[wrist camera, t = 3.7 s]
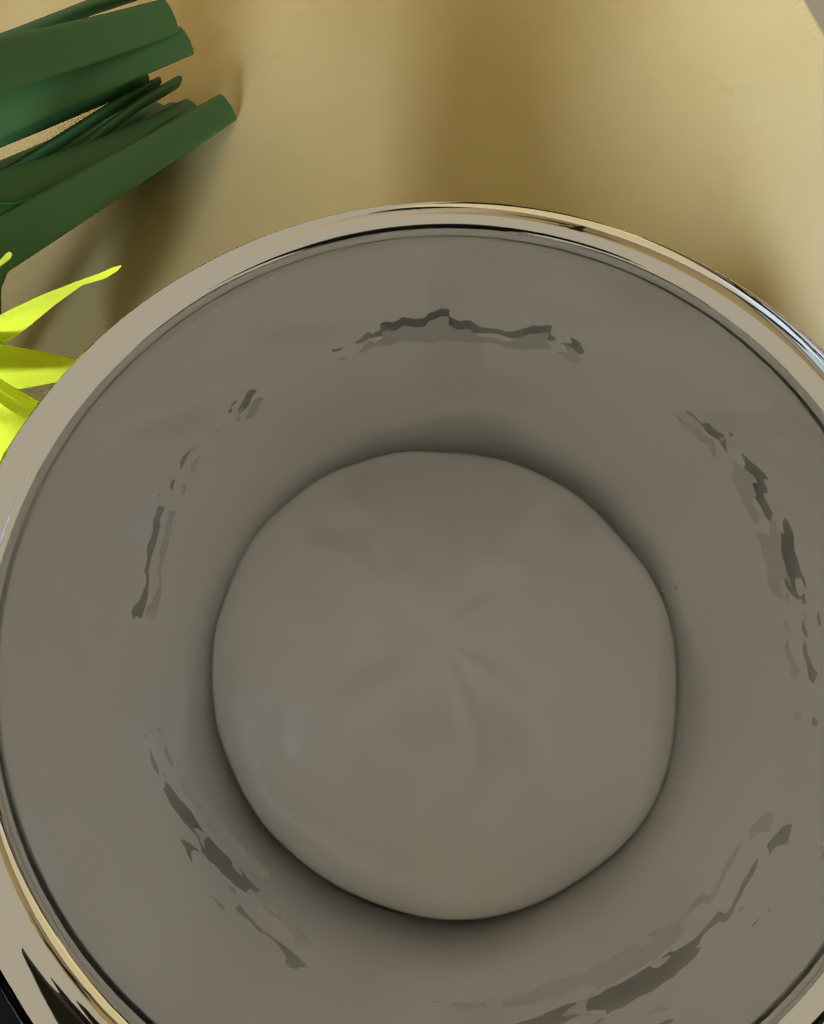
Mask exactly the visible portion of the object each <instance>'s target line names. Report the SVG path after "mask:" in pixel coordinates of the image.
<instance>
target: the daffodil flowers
mask: <svg viewBox="0 0 824 1024" xmlns="http://www.w3.org/2000/svg"><path fill="white" fill-rule="evenodd" d="M134 1H137V0H86V1H83V2H81V3H78V4H76V5H73V6H71V7H68V8H65V9H63V10H60V11H58V12H55V13H52V14H50V15H47V16H45V17H42V18H40V19H37V20H34V21H32V22H29V23H27V24H24V25H21V26H19V27H16V28H14V29H11V30H8V31H6V32H3V33H0V148H1V147H3V146H6V145H8V144H11V143H13V142H16V141H18V140H21V139H23V138H25V137H28V136H30V135H33V134H35V133H38V132H40V131H43V130H45V129H48V128H50V127H52V126H55V125H57V124H59V123H62V122H64V121H66V120H69V119H71V118H73V117H76V116H78V115H81V114H83V113H85V112H88V111H90V110H92V109H95V108H97V107H99V106H102V105H104V104H106V103H108V104H106V105H105V106H103V107H102V108H100V109H98V110H97V111H95V112H93V113H92V114H90V115H89V116H87V117H85V118H84V119H82V120H81V121H79V122H77V123H76V124H74V125H73V126H71V127H69V128H68V129H66V130H65V131H63V132H61V133H60V134H58V135H57V136H55V137H53V138H52V139H50V140H48V141H46V142H43V143H41V144H39V145H36V146H34V147H31V148H29V149H27V150H24V151H22V152H19V153H17V154H15V155H12V156H10V157H8V158H5V159H3V160H0V460H1V458H2V456H3V455H4V453H5V451H6V449H7V448H8V446H9V445H10V443H11V442H12V440H13V438H14V437H15V435H16V434H17V432H18V431H19V429H20V428H21V426H22V425H23V424H24V422H25V421H26V419H27V418H28V417H29V415H30V414H31V412H32V411H33V410H34V409H35V407H36V406H37V405H38V403H39V401H37V400H35V399H33V398H32V397H30V396H28V395H27V394H25V393H23V392H22V391H20V390H18V389H22V388H28V387H33V386H39V385H45V384H51V383H55V382H56V381H57V380H58V379H59V378H60V377H61V376H62V375H63V374H64V373H65V371H66V370H67V369H68V368H69V367H70V366H71V365H72V364H73V363H74V362H75V361H76V359H72V358H69V357H65V356H60V355H55V354H50V353H46V352H41V351H36V350H31V349H27V348H21V347H15V346H9V345H3V344H1V343H3V342H5V341H7V340H10V339H12V338H14V337H16V336H18V335H19V334H20V333H21V332H23V331H24V330H25V329H26V328H28V327H29V326H30V325H31V324H32V323H34V322H35V321H36V320H37V319H38V318H40V317H41V316H42V315H43V314H45V313H46V312H47V311H48V310H49V309H51V308H52V307H53V306H54V305H56V304H57V303H58V302H59V301H61V300H62V299H64V298H65V297H66V296H68V295H69V294H71V293H72V292H73V291H75V290H76V289H78V288H79V287H80V286H82V285H85V284H88V283H91V282H95V281H98V280H102V279H105V278H107V277H108V276H110V275H112V274H113V273H115V272H116V271H118V269H119V268H120V267H121V265H119V266H116V267H113V268H110V269H108V270H106V271H103V272H101V273H99V274H96V275H93V276H90V277H88V278H85V279H82V280H79V281H77V282H74V283H71V284H69V285H66V286H64V287H61V288H58V289H56V290H53V291H51V292H48V293H46V294H43V295H40V296H38V297H36V298H34V299H32V300H30V301H28V302H26V303H24V304H21V305H19V306H17V307H15V308H13V309H11V310H9V311H7V312H5V313H2V314H1V288H2V285H3V283H4V280H5V278H6V275H7V274H8V272H9V271H10V270H11V269H13V268H14V267H16V266H17V265H19V264H20V263H22V262H23V261H25V260H27V259H28V258H30V257H31V256H33V255H34V254H36V253H37V252H39V251H40V250H42V249H43V248H45V247H46V246H48V245H49V244H51V243H52V242H54V241H55V240H57V239H58V238H60V237H61V236H63V235H64V234H66V233H67V232H69V231H70V230H72V229H73V228H75V227H76V226H78V225H79V224H81V223H82V222H84V221H85V220H87V219H88V218H90V217H91V216H93V215H94V214H96V213H97V212H99V211H100V210H102V209H103V208H105V207H106V206H108V205H109V204H111V203H112V202H114V201H115V200H117V199H118V198H120V197H121V196H123V195H124V194H126V193H127V192H129V191H130V190H132V189H133V188H135V187H136V186H138V185H139V184H141V183H142V182H144V181H145V180H147V179H148V178H150V177H151V176H153V175H154V174H156V173H157V172H159V171H160V170H162V169H164V168H165V167H167V166H168V165H170V164H171V163H173V162H174V161H176V160H177V159H179V158H180V157H182V156H183V155H185V154H186V153H188V152H189V151H191V150H192V149H194V148H195V147H197V146H198V145H200V144H201V143H203V142H204V141H206V140H207V139H209V138H210V137H212V136H213V135H215V134H216V133H218V132H219V131H221V130H222V129H224V128H225V127H226V126H228V125H229V124H231V123H232V122H234V121H235V120H236V115H235V113H234V111H233V109H232V107H231V105H230V104H229V102H228V101H227V100H226V98H225V97H224V96H223V95H221V94H220V95H218V96H216V97H214V98H212V99H211V100H209V101H207V102H205V103H203V104H202V105H200V106H198V107H197V106H196V105H195V104H194V103H193V102H192V101H191V100H189V99H185V100H183V101H180V102H178V103H169V104H167V105H165V106H162V105H161V104H160V103H158V102H156V101H157V100H159V99H161V98H162V97H164V96H166V95H167V94H169V93H171V92H173V91H174V90H176V89H177V88H178V87H179V86H180V84H181V82H182V77H181V76H177V77H175V78H173V79H171V80H170V81H168V82H166V83H164V84H163V85H161V86H160V84H161V78H160V77H157V78H155V79H153V80H151V81H149V76H148V74H149V73H151V72H153V71H156V70H158V69H160V68H163V67H165V66H167V65H170V64H172V63H174V62H176V61H179V60H181V59H183V58H186V57H188V56H190V55H193V53H194V52H193V48H192V45H191V42H190V40H189V38H188V36H187V34H186V33H185V31H184V30H183V29H182V28H181V27H178V25H177V22H176V19H175V17H174V14H173V12H172V10H171V8H170V6H169V5H168V3H167V2H166V0H157V1H153V2H149V3H145V4H141V5H137V6H133V7H129V8H125V9H121V10H117V11H113V12H109V13H105V14H101V15H96V16H92V15H95V14H98V13H101V12H104V11H107V10H110V9H113V8H116V7H119V6H122V5H125V4H128V3H131V2H134ZM89 16H92V17H89ZM87 17H88V18H87ZM109 102H110V103H109Z"/></svg>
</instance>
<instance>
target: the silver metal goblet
mask: <svg viewBox="0 0 824 1024" xmlns="http://www.w3.org/2000/svg"><path fill="white" fill-rule="evenodd" d="M0 994H1V996H2V998H3V999H4V1001H5V1002H6V1004H7V1006H8V1007H9V1009H10V1010H11V1012H12V1014H13V1015H14V1017H15V1018H16V1020H17V1021H18V1023H19V1024H824V351H823V350H822V349H821V348H820V347H819V346H818V345H817V344H816V343H815V342H814V341H813V340H812V339H811V338H810V337H808V336H807V335H806V334H805V333H804V332H803V331H801V330H800V329H799V328H798V327H797V326H795V325H794V324H793V323H792V322H791V321H789V320H788V319H787V318H786V317H784V316H783V315H782V314H781V313H779V312H778V311H777V310H775V309H774V308H773V307H771V306H770V305H768V304H767V303H766V302H764V301H763V300H762V299H760V298H759V297H757V296H756V295H754V294H753V293H751V292H750V291H748V290H747V289H745V288H744V287H742V286H741V285H739V284H737V283H736V282H734V281H733V280H731V279H729V278H728V277H726V276H724V275H723V274H721V273H719V272H717V271H716V270H714V269H712V268H710V267H709V266H707V265H705V264H703V263H701V262H699V261H697V260H695V259H693V258H691V257H689V256H687V255H685V254H683V253H681V252H679V251H677V250H675V249H672V248H670V247H668V246H665V245H663V244H661V243H658V242H656V241H653V240H651V239H648V238H646V237H643V236H641V235H638V234H635V233H633V232H630V231H627V230H624V229H621V228H618V227H615V226H612V225H609V224H605V223H602V222H598V221H595V220H591V219H587V218H583V217H579V216H575V215H571V214H566V213H561V212H557V211H552V210H546V209H540V208H535V207H528V206H520V205H511V204H502V203H489V202H469V201H437V202H416V203H405V204H395V205H386V206H379V207H372V208H365V209H360V210H354V211H349V212H344V213H340V214H335V215H331V216H327V217H323V218H319V219H315V220H312V221H308V222H305V223H301V224H298V225H295V226H292V227H289V228H286V229H282V230H279V231H277V232H274V233H271V234H268V235H266V236H263V237H260V238H258V239H256V240H253V241H251V242H248V243H246V244H244V245H241V246H239V247H237V248H234V249H232V250H230V251H228V252H226V253H224V254H222V255H220V256H218V257H216V258H214V259H212V260H210V261H208V262H206V263H204V264H202V265H201V266H199V267H197V268H195V269H193V270H192V271H190V272H188V273H186V274H185V275H183V276H181V277H180V278H178V279H176V280H175V281H173V282H172V283H170V284H168V285H167V286H165V287H164V288H162V289H161V290H159V291H158V292H156V293H155V294H153V295H152V296H151V297H149V298H148V299H146V300H145V301H144V302H142V303H141V304H140V305H138V306H137V307H136V308H134V309H133V310H132V311H130V312H129V313H128V314H127V315H125V316H124V317H123V318H122V319H120V320H119V321H118V322H117V323H116V324H114V325H113V326H112V327H111V328H110V329H108V330H107V331H106V332H105V333H104V334H103V335H102V336H101V337H99V338H98V339H97V340H96V341H95V342H94V343H93V344H92V345H91V346H90V347H89V348H88V349H87V350H86V351H85V352H84V353H82V354H81V356H80V357H79V358H78V359H77V360H76V361H75V362H74V363H73V364H72V365H71V366H70V367H69V368H68V369H67V370H66V371H65V373H64V374H63V375H62V376H61V377H60V378H59V379H58V380H57V381H56V382H55V384H54V385H53V386H52V387H51V389H50V390H49V391H48V392H47V393H46V395H45V396H44V397H43V398H42V400H41V401H40V402H39V403H38V405H37V406H36V407H35V409H34V410H33V411H32V412H31V414H30V415H29V417H28V418H27V419H26V421H25V422H24V424H23V425H22V426H21V428H20V429H19V431H18V432H17V434H16V435H15V437H14V438H13V440H12V442H11V443H10V445H9V446H8V448H7V449H6V451H5V453H4V455H3V456H2V458H1V460H0Z"/></svg>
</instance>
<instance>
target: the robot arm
mask: <svg viewBox="0 0 824 1024" xmlns="http://www.w3.org/2000/svg"><path fill="white" fill-rule="evenodd" d="M0 1024H19V1023H18V1021H17V1020H16V1018H15V1017H14V1015H13V1014H12V1012H11V1010H10V1009H9V1007H8V1006H7V1004H6V1002H5V1001H4V999H3V998H2V996H1V994H0Z"/></svg>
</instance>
